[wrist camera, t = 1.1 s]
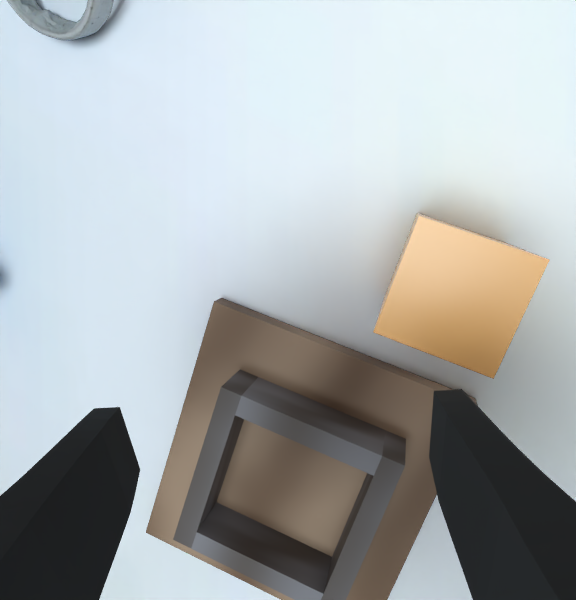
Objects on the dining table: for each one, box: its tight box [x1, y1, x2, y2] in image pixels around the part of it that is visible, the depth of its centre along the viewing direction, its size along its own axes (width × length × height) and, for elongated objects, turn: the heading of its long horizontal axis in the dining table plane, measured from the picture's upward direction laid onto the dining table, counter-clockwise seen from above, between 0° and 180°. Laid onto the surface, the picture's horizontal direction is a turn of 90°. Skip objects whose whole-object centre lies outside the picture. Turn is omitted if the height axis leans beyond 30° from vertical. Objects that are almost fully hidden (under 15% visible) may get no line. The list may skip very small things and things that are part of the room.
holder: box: [146, 298, 478, 600], centre depth 24 cm, size 13×14×4 cm
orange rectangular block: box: [373, 213, 549, 379], centre depth 19 cm, size 4×4×7 cm
